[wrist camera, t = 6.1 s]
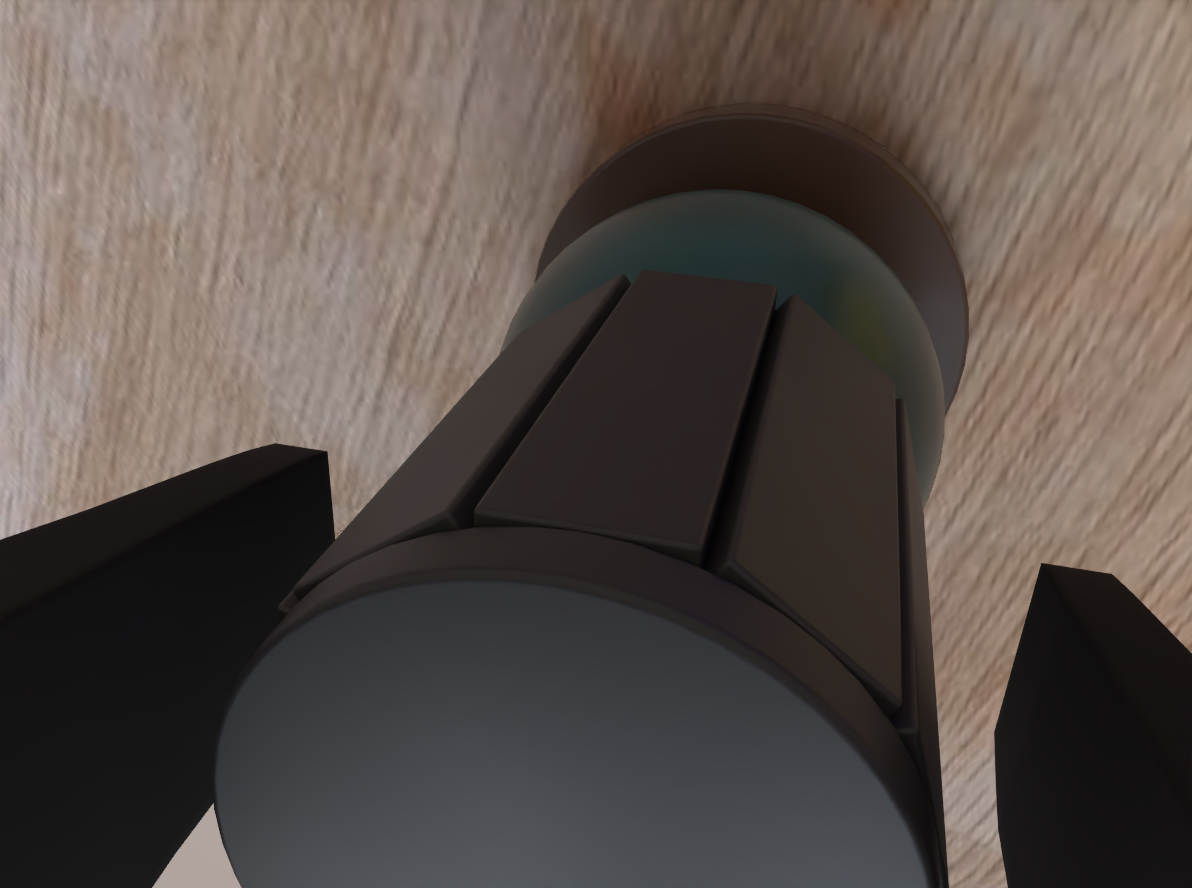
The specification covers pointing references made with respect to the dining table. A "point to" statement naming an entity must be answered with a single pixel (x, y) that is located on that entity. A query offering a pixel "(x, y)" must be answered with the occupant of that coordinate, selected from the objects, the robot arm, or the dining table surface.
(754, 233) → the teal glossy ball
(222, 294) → the dining table surface
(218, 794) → the black cap
